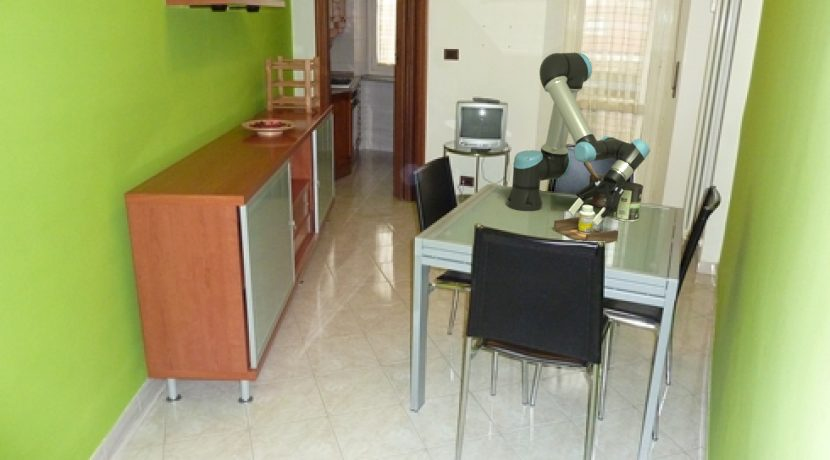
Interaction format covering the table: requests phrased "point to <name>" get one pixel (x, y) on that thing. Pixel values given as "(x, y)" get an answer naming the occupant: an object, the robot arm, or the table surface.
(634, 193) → the coffee can
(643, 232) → the table surface
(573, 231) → the wooden tray with rails
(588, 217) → the supplement bottle
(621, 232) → the table surface
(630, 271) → the table surface
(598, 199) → the mortar and pestle
